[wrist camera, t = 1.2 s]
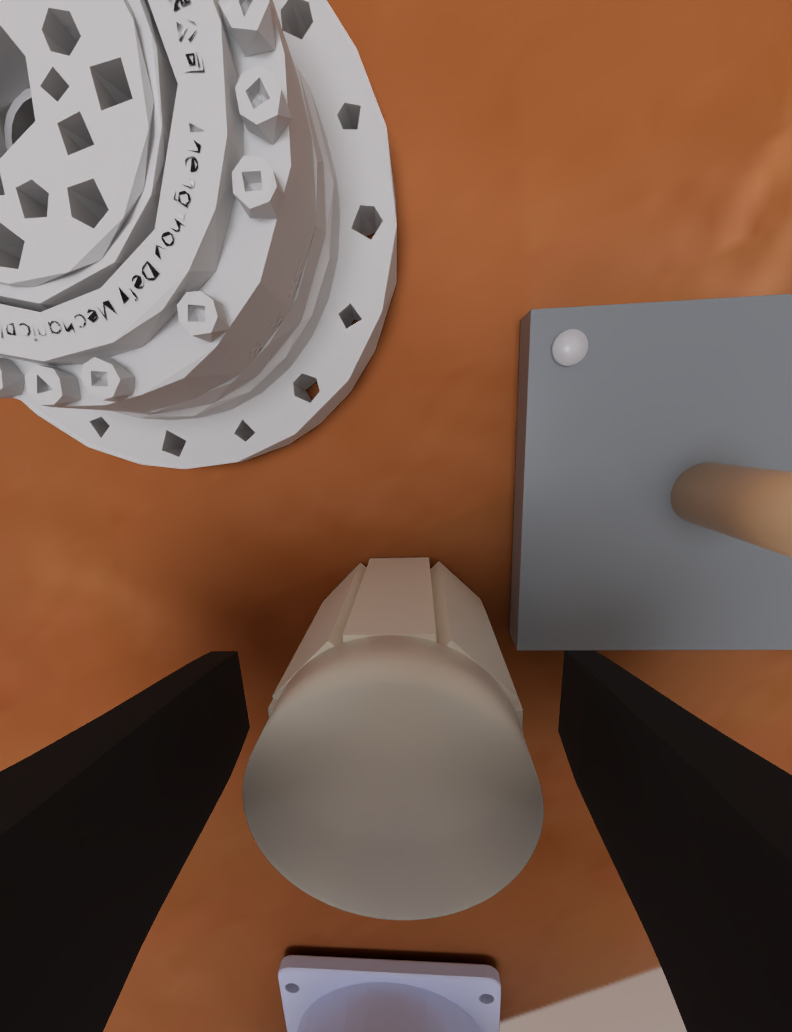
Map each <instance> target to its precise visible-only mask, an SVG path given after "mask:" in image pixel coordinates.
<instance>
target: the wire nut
mask: <svg viewBox="0 0 792 1032" xmlns="http://www.w3.org/2000/svg"><path fill="white" fill-rule="evenodd" d="M272 697H273V700H272V702H271V704H270V705H269V707H268V714H269V719H268V721H267V723H266V725H265V727H264V729H263V731H262V733H261V735H260V737H259V739H258V741H257V743H256V745H255V747H254V749H253V751H252V753H251V756H250V758H249V760H248V763H247V766H246V770H245V775H244V780H243V805H244V811H245V815H246V819H247V823H248V826H249V828H250V831H251V833H252V835H253V838H254V840H255V841H256V843H257V845H258V846H259V848H260V850H261V851H262V853H263V854H264V855H265V857H266V858H267V859H268V860H269V862H270V863H271V864H272V865H273V866H274V867H275V868H276V869H277V870H278V871H279V872H280V873H281V874H282V875H283V876H284V877H285V878H286V879H287V880H289V881H290V882H291V883H292V884H294V885H295V886H296V887H298V888H299V889H301V890H302V891H304V892H305V893H307V894H309V895H310V896H312V897H314V898H316V899H318V900H320V901H322V902H324V903H326V904H328V905H330V906H333V907H336V908H338V909H341V910H343V911H347V912H351V913H354V914H358V915H362V916H367V917H372V918H378V919H389V920H419V919H429V918H435V917H440V916H445V915H450V914H453V913H456V912H459V911H463V910H466V909H468V908H470V907H472V906H475V905H477V904H479V903H481V902H483V901H485V900H487V899H488V898H490V897H492V896H493V895H495V894H496V893H498V892H499V891H500V890H502V889H503V888H504V887H506V886H507V885H508V884H509V883H510V882H511V881H512V880H513V879H514V878H515V877H516V876H517V875H518V874H519V873H520V872H521V870H522V869H523V868H524V866H525V865H526V864H527V862H528V861H529V859H530V857H531V856H532V854H533V852H534V850H535V848H536V846H537V843H538V840H539V837H540V834H541V830H542V823H543V817H544V812H543V796H542V791H541V785H540V782H539V779H538V776H537V773H536V770H535V767H534V765H533V762H532V759H531V756H530V753H529V750H528V747H527V744H526V741H525V739H524V736H523V733H522V725H523V709H522V706H521V703H520V701H519V698H518V695H517V693H516V690H515V687H514V685H513V682H512V679H511V677H510V674H509V671H508V669H507V666H506V663H505V661H504V658H503V655H502V653H501V650H500V647H499V645H498V642H497V639H496V637H495V634H494V631H493V629H492V626H491V624H490V621H489V618H488V616H487V613H486V610H485V608H484V606H483V604H482V601H481V599H480V598H479V597H478V596H477V595H476V594H475V593H474V592H472V591H471V590H470V589H469V588H468V587H467V586H466V585H465V584H464V583H463V582H461V581H460V580H459V579H458V578H457V577H456V576H455V575H454V574H453V573H452V572H450V571H449V570H448V569H447V568H446V567H445V566H444V565H443V564H442V563H441V562H439V561H438V562H437V563H436V564H435V565H434V566H433V567H432V568H431V569H430V563H429V557H418V558H370V560H369V562H368V565H367V567H365V566H364V565H363V564H362V563H361V562H360V563H359V564H358V566H357V567H356V568H355V569H354V570H353V571H352V572H351V573H350V574H349V575H348V576H347V577H346V578H345V579H344V580H343V581H342V582H341V583H340V584H339V585H338V586H337V587H336V588H335V589H334V590H333V591H332V592H331V593H330V594H329V595H328V597H327V598H326V599H325V600H324V601H323V602H322V604H321V606H320V608H319V610H318V612H317V614H316V615H315V617H314V619H313V621H312V623H311V625H310V627H309V628H308V630H307V632H306V634H305V636H304V638H303V640H302V641H301V643H300V645H299V647H298V649H297V651H296V653H295V654H294V656H293V658H292V660H291V662H290V664H289V666H288V667H287V669H286V671H285V673H284V675H283V677H282V679H281V680H280V682H279V684H278V686H277V688H276V690H275V692H274V693H273V695H272Z"/></svg>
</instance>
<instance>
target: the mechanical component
mask: <svg viewBox="0 0 792 1032" xmlns="http://www.w3.org/2000/svg"><path fill="white" fill-rule="evenodd" d="M375 232H376V233H375ZM373 233H375V234H374V236H373V238H372V239H369V238H367V237H366V236H369V235H371V234H373ZM396 283H397V215H396V197H395V189H394V181H393V174H392V166H391V158H390V150H389V142H388V135H387V127H386V124H385V122H384V119H383V116H382V114H381V111H380V109H379V106H378V103H377V101H376V98H375V95H374V93H373V90H372V88H371V85H370V82H369V80H368V77H367V74H366V72H365V69H364V67H363V64H362V61H361V59H360V56H359V53H358V51H357V48H356V47H355V45H354V44H353V42H352V40H351V39H350V37H349V35H348V34H347V32H346V31H345V29H344V27H343V26H342V24H341V23H340V21H339V19H338V18H337V16H336V15H335V13H334V11H333V10H332V8H331V7H330V5H329V3H328V2H327V0H0V398H11V397H12V398H15V399H19V400H21V401H22V402H23V403H25V404H26V405H27V406H28V407H29V408H30V409H31V410H32V411H33V412H35V413H36V414H37V415H38V416H40V417H42V418H43V419H45V420H46V421H48V422H49V423H51V424H53V425H54V426H56V427H57V428H59V429H60V430H62V431H64V432H65V433H67V434H68V435H70V436H71V437H73V438H75V439H76V440H78V441H79V442H81V443H82V444H84V445H85V446H87V447H89V448H93V449H96V450H99V451H102V452H105V453H108V454H111V455H114V456H117V457H120V458H123V459H126V460H129V461H132V462H135V463H138V464H141V465H151V466H160V467H169V468H178V469H190V468H197V467H205V466H213V465H220V464H228V463H236V462H243V461H246V460H249V459H251V458H254V457H257V456H259V455H262V454H265V453H268V452H270V451H273V450H276V449H278V448H281V447H284V446H287V445H289V444H291V443H292V442H294V441H295V440H297V439H298V438H300V437H301V436H303V435H304V434H306V433H307V432H309V431H310V430H312V429H313V428H315V427H316V426H318V425H319V424H321V423H322V422H323V421H324V420H325V419H326V418H327V417H328V415H329V414H330V413H331V412H332V411H333V410H334V409H335V408H336V407H337V406H338V405H339V404H340V403H341V402H342V401H343V400H344V399H345V398H346V397H347V395H348V394H349V393H350V392H351V391H352V389H353V387H354V386H355V384H356V382H357V381H358V379H359V377H360V376H361V374H362V372H363V371H364V369H365V367H366V366H367V364H368V362H369V360H370V359H371V357H372V355H373V354H374V352H375V350H376V347H377V344H378V340H379V337H380V334H381V331H382V328H383V325H384V321H385V318H386V315H387V312H388V309H389V306H390V302H391V299H392V296H393V293H394V290H395V286H396ZM353 320H357V321H358V322H356V323H355V324H353V325H351V324H352V322H353ZM315 382H317V383H318V387H319V390H320V392H319V393H318V394H317V395H316V397H315V398H314V399H313V400H311V398H310V396H309V395H308V393H307V391H306V390H307V389H308V388H309V387H310V386H312V385H313V384H314V383H315Z"/></svg>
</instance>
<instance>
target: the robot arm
mask: <svg viewBox="0 0 792 1032" xmlns="http://www.w3.org/2000/svg"><path fill="white" fill-rule="evenodd" d="M249 728H250V726H249V720H248V714H247V708H246V701H245V695H244V689H243V683H242V676H241V670H240V664H239V658H238V652H237V651H212V652H210V653H208V654H205V655H203V656H201V657H200V658H198V659H196V660H194V661H192V662H191V663H189V664H187V665H185V666H184V667H182V668H180V669H178V670H177V671H175V672H173V673H172V674H170V675H168V676H167V677H165V678H163V679H162V680H160V681H158V682H157V683H155V684H153V685H152V686H150V687H148V688H147V689H145V690H143V691H142V692H140V693H138V694H137V695H135V696H133V697H132V698H130V699H128V700H127V701H125V702H123V703H122V704H120V705H118V706H117V707H115V708H113V709H112V710H110V711H108V712H107V713H105V714H103V715H101V716H100V717H98V718H96V719H94V720H93V721H91V722H89V723H87V724H86V725H84V726H82V727H80V728H79V729H77V730H75V731H73V732H71V733H70V734H68V735H66V736H64V737H63V738H61V739H59V740H57V741H56V742H54V743H52V744H50V745H49V746H47V747H45V748H43V749H41V750H40V751H38V752H36V753H34V754H33V755H31V756H29V757H27V758H25V759H23V760H21V761H20V762H18V763H16V764H14V765H12V766H10V767H8V768H6V769H5V770H3V771H1V772H0V1032H103V1030H104V1028H105V1026H106V1024H107V1021H108V1019H109V1017H110V1015H111V1012H112V1010H113V1008H114V1006H115V1004H116V1001H117V999H118V997H119V995H120V992H121V990H122V988H123V986H124V983H125V981H126V979H127V977H128V975H129V972H130V970H131V968H132V966H133V963H134V961H135V959H136V957H137V955H138V952H139V950H140V948H141V946H142V944H143V942H144V940H145V938H146V936H147V934H148V932H149V930H150V928H151V926H152V924H153V922H154V920H155V918H156V916H157V914H158V912H159V910H160V908H161V906H162V904H163V903H164V901H165V899H166V897H167V895H168V893H169V891H170V890H171V888H172V886H173V884H174V882H175V880H176V878H177V876H178V875H179V873H180V871H181V869H182V867H183V865H184V863H185V861H186V860H187V858H188V856H189V854H190V852H191V850H192V848H193V846H194V845H195V843H196V841H197V839H198V837H199V835H200V833H201V832H202V830H203V828H204V826H205V824H206V822H207V820H208V818H209V816H210V815H211V813H212V811H213V809H214V807H215V805H216V803H217V801H218V799H219V797H220V796H221V794H222V792H223V790H224V788H225V786H226V784H227V782H228V780H229V778H230V776H231V774H232V771H233V769H234V766H235V764H236V761H237V759H238V757H239V754H240V752H241V749H242V746H243V744H244V741H245V738H246V736H247V733H248V731H249ZM558 731H559V734H560V737H561V740H562V743H563V746H564V749H565V752H566V755H567V758H568V761H569V764H570V767H571V770H572V772H573V775H574V778H575V781H576V783H577V786H578V788H579V790H580V792H581V794H582V797H583V799H584V801H585V803H586V805H587V807H588V810H589V812H590V814H591V816H592V818H593V820H594V823H595V825H596V827H597V829H598V831H599V833H600V835H601V838H602V840H603V842H604V844H605V846H606V848H607V850H608V852H609V854H610V857H611V859H612V861H613V863H614V865H615V867H616V869H617V871H618V874H619V876H620V878H621V880H622V882H623V884H624V886H625V888H626V891H627V893H628V895H629V897H630V899H631V901H632V903H633V905H634V907H635V910H636V912H637V914H638V916H639V918H640V920H641V922H642V924H643V927H644V929H645V931H646V933H647V935H648V937H649V940H650V942H651V944H652V947H653V949H654V951H655V953H656V956H657V958H658V960H659V963H660V965H661V967H662V969H663V972H664V974H665V976H666V979H667V981H668V984H669V986H670V989H671V991H672V994H673V996H674V999H675V1001H676V1004H677V1007H678V1009H679V1012H680V1014H681V1017H682V1019H683V1022H684V1024H685V1027H686V1030H687V1032H792V775H790V774H789V773H787V772H785V771H784V770H782V769H780V768H779V767H777V766H775V765H774V764H772V763H770V762H769V761H767V760H765V759H764V758H762V757H760V756H759V755H757V754H755V753H754V752H752V751H750V750H749V749H747V748H745V747H744V746H742V745H740V744H739V743H737V742H736V741H734V740H732V739H731V738H729V737H728V736H726V735H724V734H723V733H721V732H720V731H718V730H716V729H715V728H713V727H712V726H710V725H708V724H707V723H705V722H704V721H702V720H701V719H699V718H697V717H696V716H694V715H693V714H691V713H690V712H688V711H687V710H685V709H684V708H682V707H681V706H679V705H677V704H676V703H674V702H673V701H671V700H670V699H668V698H667V697H665V696H664V695H662V694H661V693H659V692H658V691H656V690H655V689H653V688H652V687H650V686H649V685H647V684H646V683H644V682H643V681H641V680H640V679H638V678H637V677H635V676H634V675H632V674H631V673H629V672H628V671H626V670H625V669H623V668H622V667H620V666H619V665H617V664H615V663H614V662H612V661H611V660H609V659H608V658H606V657H604V656H603V655H601V654H599V653H598V652H596V651H594V650H574V651H564V663H563V676H562V689H561V702H560V715H559V728H558ZM278 980H279V986H280V992H281V998H282V1004H283V1010H284V1016H285V1022H286V1028H287V1032H499V1027H500V1001H501V985H500V978H499V973H498V971H497V970H496V969H495V968H494V967H492V966H490V965H486V964H468V963H448V962H427V961H407V960H387V959H367V958H347V957H327V956H307V955H288V956H286V957H284V958H283V959H282V961H281V964H280V967H279V971H278Z"/></svg>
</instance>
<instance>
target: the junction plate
mask: <svg viewBox="0 0 792 1032" xmlns="http://www.w3.org/2000/svg"><path fill="white" fill-rule="evenodd" d="M509 634H510V636H511V638H512V640H513V643H514V645H515V647H516V649H517V650H792V294H784V295H767V296H750V297H733V298H717V299H700V300H683V301H666V302H650V303H633V304H616V305H599V306H582V307H566V308H549V309H532V310H530V311H529V312H528V313H527V314H526V315H525V316H524V317H523V318H522V319H521V322H520V350H519V379H518V407H517V435H516V463H515V491H514V520H513V548H512V576H511V604H510V632H509Z"/></svg>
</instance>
